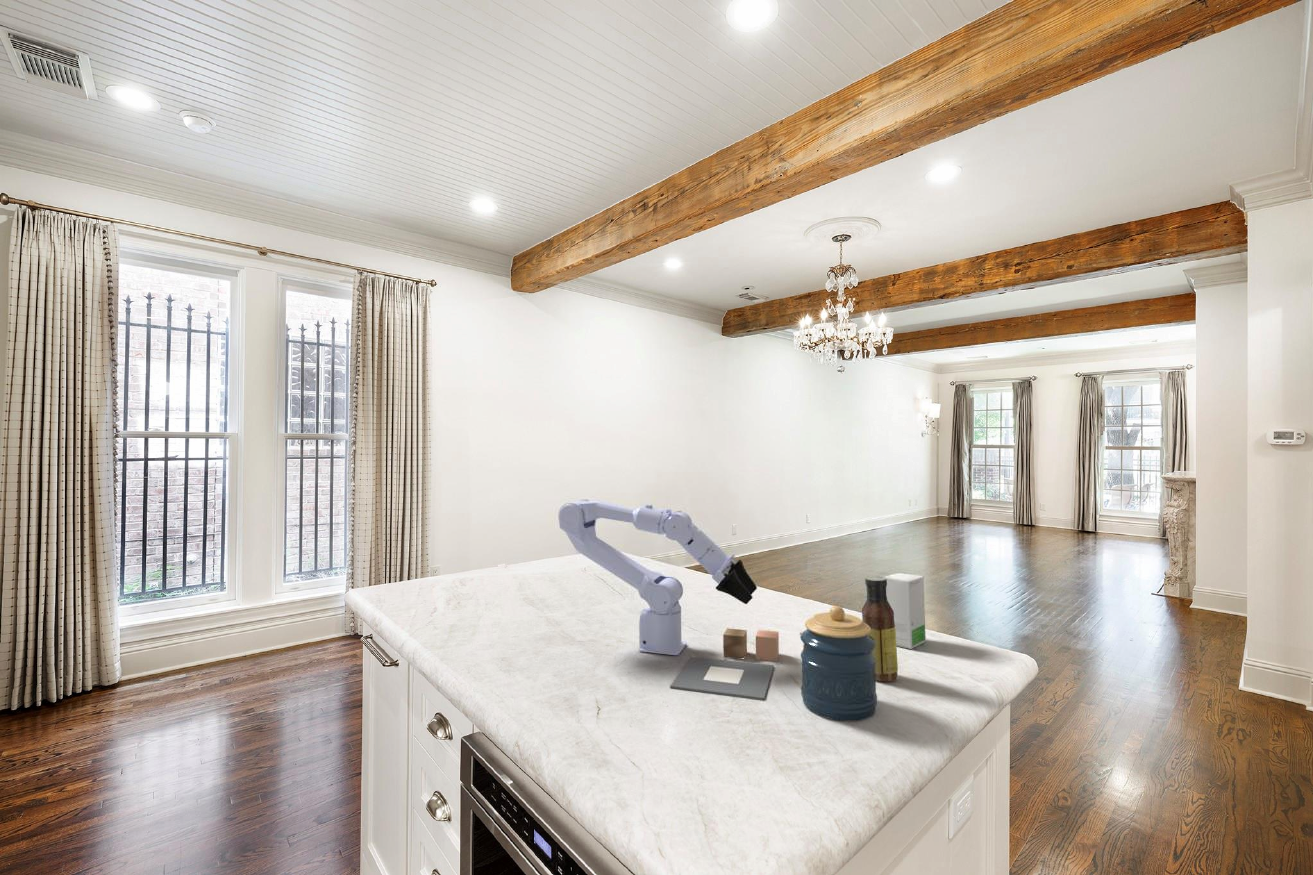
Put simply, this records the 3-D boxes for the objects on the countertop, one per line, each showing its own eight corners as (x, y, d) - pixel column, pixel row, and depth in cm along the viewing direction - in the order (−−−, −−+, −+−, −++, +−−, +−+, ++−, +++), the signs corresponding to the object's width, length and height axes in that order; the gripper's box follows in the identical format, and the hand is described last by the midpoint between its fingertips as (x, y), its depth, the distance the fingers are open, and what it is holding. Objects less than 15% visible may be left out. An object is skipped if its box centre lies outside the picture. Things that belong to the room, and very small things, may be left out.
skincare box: (911, 650, 125) (909, 581, 126) (882, 642, 130) (881, 576, 131) (926, 641, 131) (925, 575, 131) (899, 634, 136) (898, 571, 136)
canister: (869, 730, 90) (867, 621, 91) (791, 711, 97) (790, 610, 98) (883, 699, 101) (881, 602, 102) (813, 683, 108) (811, 593, 109)
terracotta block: (755, 658, 121) (755, 636, 122) (758, 651, 126) (758, 629, 126) (776, 661, 120) (776, 638, 120) (778, 653, 124) (778, 631, 124)
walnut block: (723, 657, 123) (723, 634, 123) (727, 650, 127) (727, 628, 127) (743, 659, 121) (743, 636, 121) (746, 652, 126) (746, 630, 126)
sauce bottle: (896, 673, 113) (894, 575, 113) (899, 685, 107) (897, 582, 107) (862, 669, 115) (860, 573, 115) (863, 681, 109) (861, 580, 110)
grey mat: (670, 687, 107) (670, 685, 107) (690, 657, 122) (690, 655, 122) (764, 700, 101) (764, 697, 101) (773, 667, 117) (773, 664, 117)
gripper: (711, 546, 118) (759, 592, 115) (724, 534, 132) (767, 575, 129) (690, 569, 120) (737, 615, 116) (705, 555, 133) (747, 596, 130)
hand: (752, 595), depth 123 cm, fingers open, 7 cm apart
